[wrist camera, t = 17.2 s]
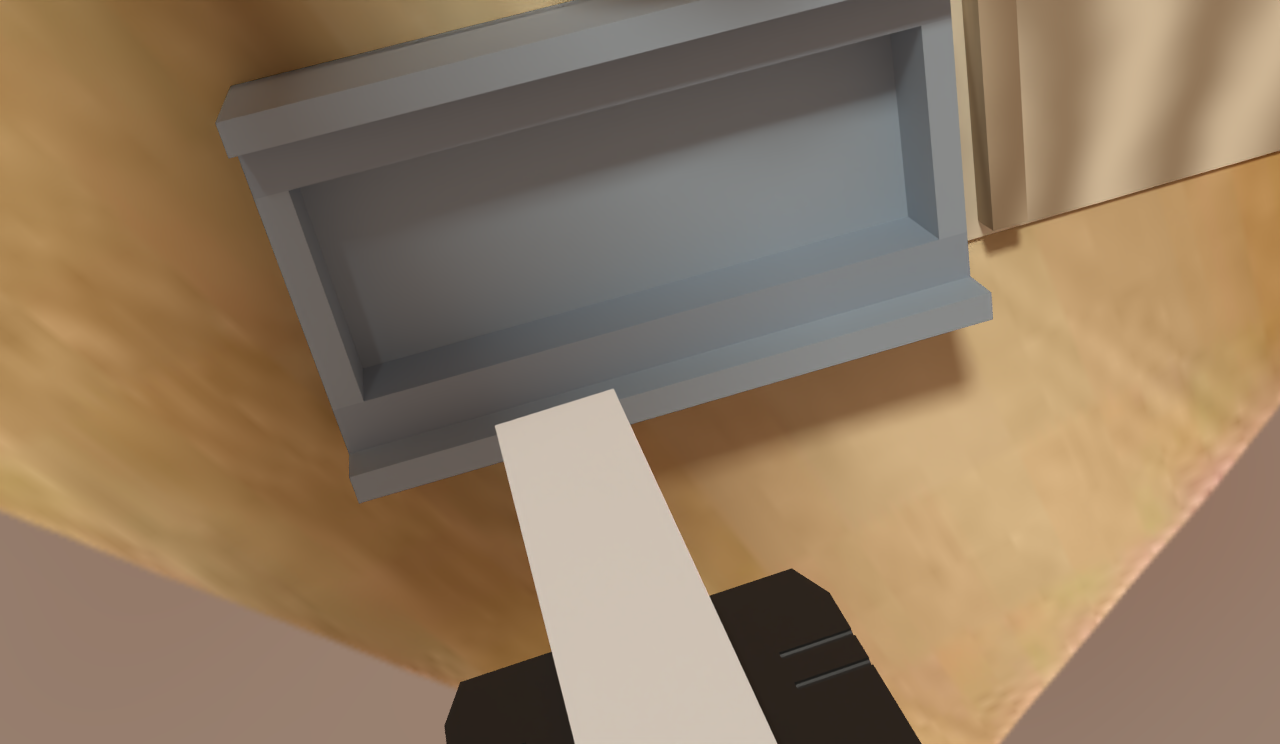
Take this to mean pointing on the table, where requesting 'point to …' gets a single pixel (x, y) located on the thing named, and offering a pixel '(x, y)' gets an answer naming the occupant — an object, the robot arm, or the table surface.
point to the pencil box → (608, 212)
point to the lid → (1106, 98)
